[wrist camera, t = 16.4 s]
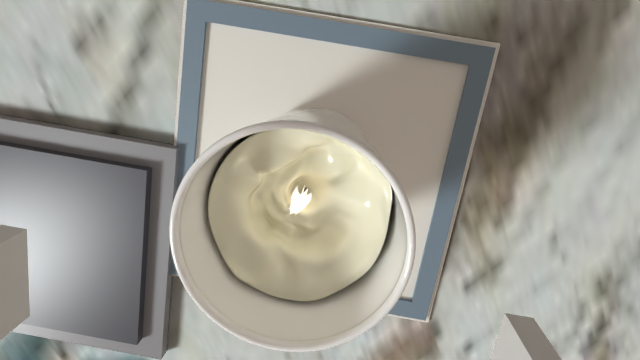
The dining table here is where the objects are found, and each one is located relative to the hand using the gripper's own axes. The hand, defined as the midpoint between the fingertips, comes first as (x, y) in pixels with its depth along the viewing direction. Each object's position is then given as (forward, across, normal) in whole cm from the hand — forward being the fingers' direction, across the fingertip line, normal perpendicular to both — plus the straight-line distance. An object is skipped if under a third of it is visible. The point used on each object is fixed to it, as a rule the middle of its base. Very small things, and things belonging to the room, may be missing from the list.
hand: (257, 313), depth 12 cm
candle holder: (+18, 0, -1) cm, 18 cm away
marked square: (+18, 0, 0) cm, 18 cm away
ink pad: (+18, -17, -8) cm, 26 cm away
